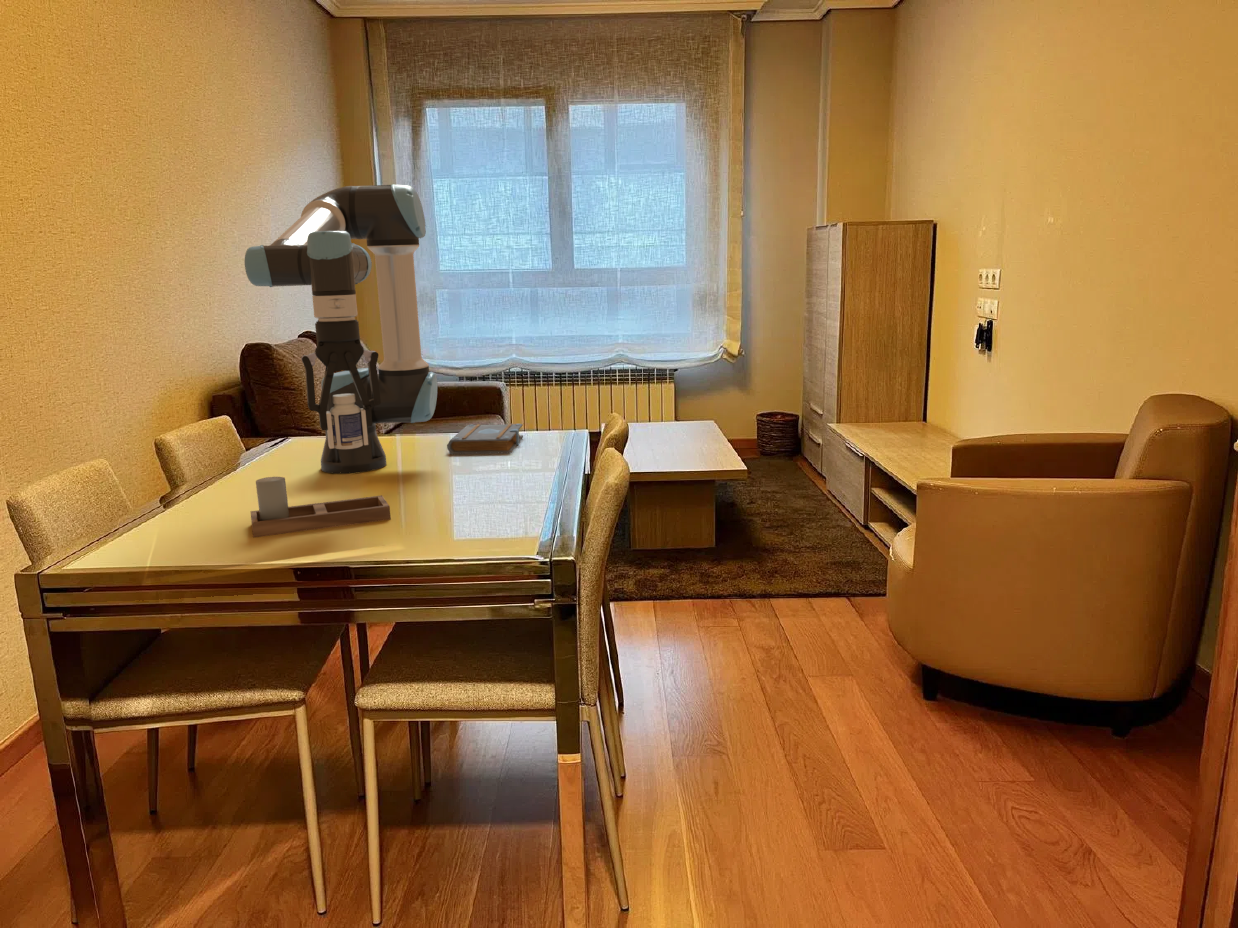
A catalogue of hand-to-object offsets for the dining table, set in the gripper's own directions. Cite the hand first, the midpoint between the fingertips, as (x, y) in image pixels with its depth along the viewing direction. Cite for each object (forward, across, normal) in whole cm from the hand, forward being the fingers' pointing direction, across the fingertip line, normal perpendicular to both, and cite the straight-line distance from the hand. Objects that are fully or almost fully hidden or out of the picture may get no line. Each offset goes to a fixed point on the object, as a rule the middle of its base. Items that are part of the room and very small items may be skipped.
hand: (348, 445), depth 170 cm
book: (+15, +41, +59) cm, 74 cm away
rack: (+15, -6, 0) cm, 16 cm away
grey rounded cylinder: (+14, -14, 0) cm, 20 cm away
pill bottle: (+1, 0, 0) cm, 1 cm away
